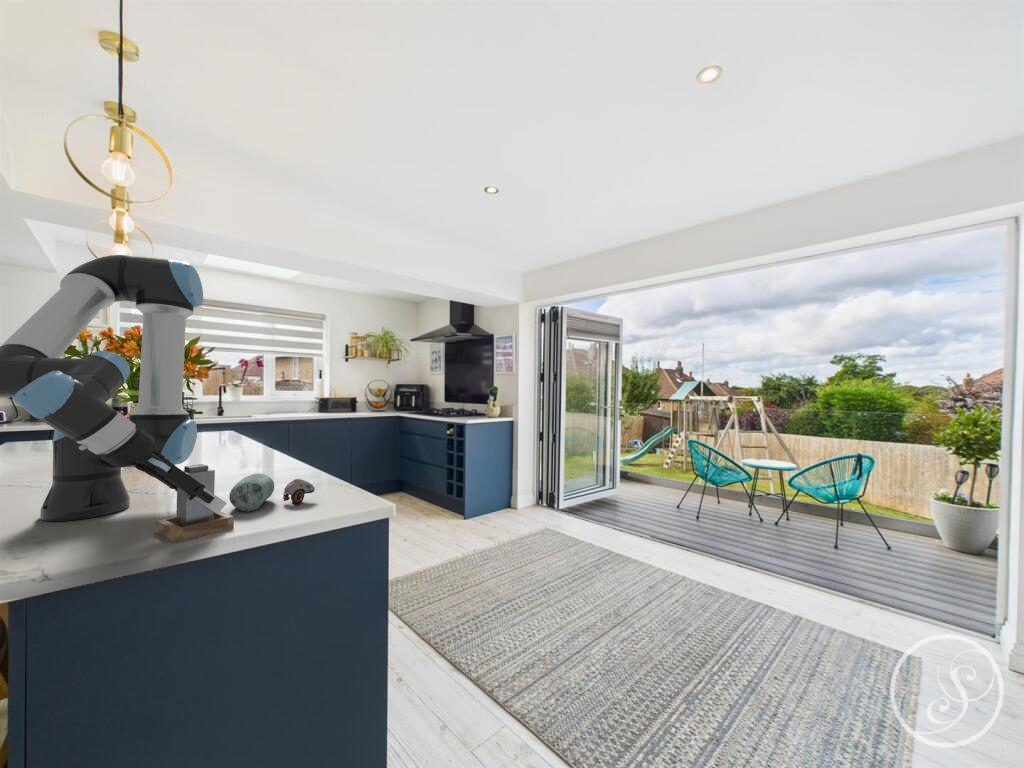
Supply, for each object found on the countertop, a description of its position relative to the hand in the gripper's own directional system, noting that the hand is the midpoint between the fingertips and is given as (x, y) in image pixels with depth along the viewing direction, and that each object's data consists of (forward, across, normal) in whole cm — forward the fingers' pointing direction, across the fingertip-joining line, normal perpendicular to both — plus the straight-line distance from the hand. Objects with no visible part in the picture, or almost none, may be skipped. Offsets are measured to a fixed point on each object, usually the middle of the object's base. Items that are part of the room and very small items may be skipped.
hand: (215, 506), depth 91 cm
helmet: (+18, -1, +11) cm, 21 cm away
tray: (0, 0, -6) cm, 6 cm away
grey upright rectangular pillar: (0, 0, -5) cm, 5 cm away
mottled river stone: (+12, -8, +5) cm, 15 cm away
